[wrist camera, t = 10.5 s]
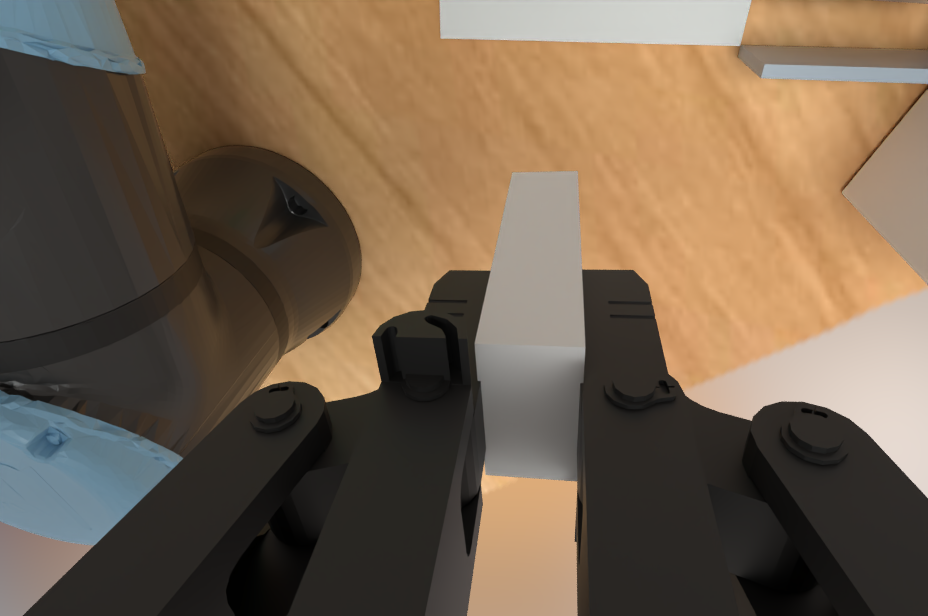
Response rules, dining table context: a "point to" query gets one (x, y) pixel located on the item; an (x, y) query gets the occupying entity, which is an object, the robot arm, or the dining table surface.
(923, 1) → the brown block
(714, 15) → the runner mat
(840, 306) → the dining table surface
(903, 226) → the milk carton
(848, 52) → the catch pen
